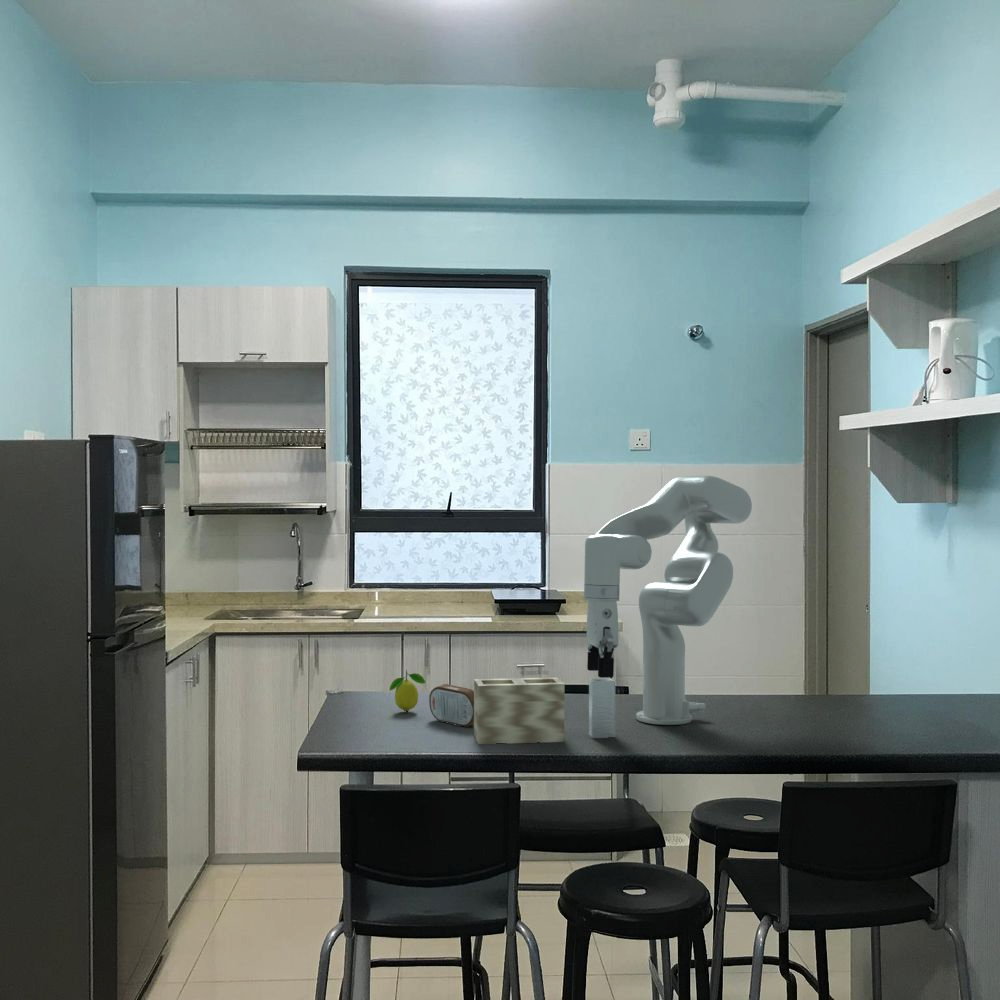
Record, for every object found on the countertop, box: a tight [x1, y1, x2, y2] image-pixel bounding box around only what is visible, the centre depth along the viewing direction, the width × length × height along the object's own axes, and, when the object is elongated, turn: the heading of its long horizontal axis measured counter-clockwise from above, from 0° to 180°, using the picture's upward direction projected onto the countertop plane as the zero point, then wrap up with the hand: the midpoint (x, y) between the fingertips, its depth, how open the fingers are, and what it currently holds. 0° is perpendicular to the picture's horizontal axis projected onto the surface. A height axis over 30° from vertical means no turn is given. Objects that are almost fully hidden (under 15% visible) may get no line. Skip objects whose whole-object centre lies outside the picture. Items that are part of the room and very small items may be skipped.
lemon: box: [389, 669, 426, 712], centre depth 238 cm, size 7×6×10 cm
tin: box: [428, 683, 474, 728], centre depth 225 cm, size 15×3×8 cm, turn 47°
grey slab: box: [588, 677, 616, 739], centre depth 213 cm, size 5×3×12 cm, turn 98°
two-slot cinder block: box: [473, 677, 565, 745], centre depth 211 cm, size 18×8×12 cm, turn 98°
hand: (600, 673), depth 213 cm, fingers open, 9 cm apart
